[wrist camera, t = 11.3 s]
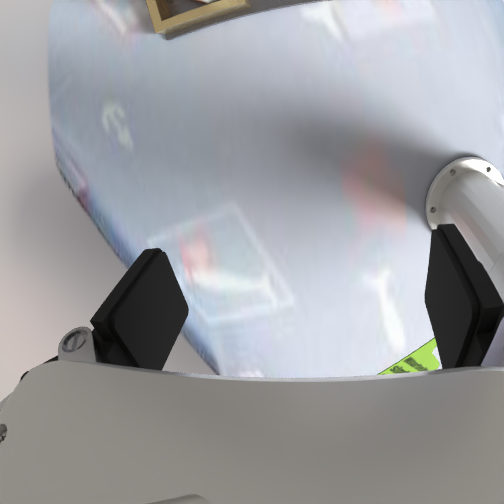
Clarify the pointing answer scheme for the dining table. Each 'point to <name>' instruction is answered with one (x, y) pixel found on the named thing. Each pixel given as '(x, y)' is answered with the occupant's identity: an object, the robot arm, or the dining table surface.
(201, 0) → the skincare box
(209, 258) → the dining table surface
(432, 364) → the door hanger
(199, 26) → the plate
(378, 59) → the dining table surface
